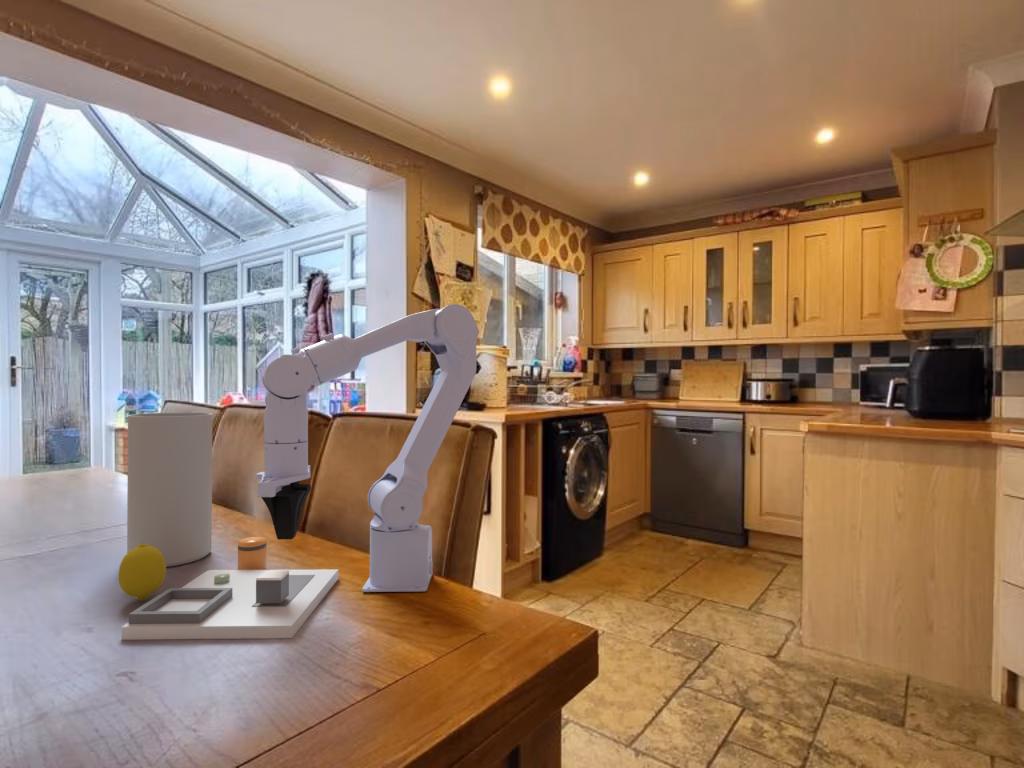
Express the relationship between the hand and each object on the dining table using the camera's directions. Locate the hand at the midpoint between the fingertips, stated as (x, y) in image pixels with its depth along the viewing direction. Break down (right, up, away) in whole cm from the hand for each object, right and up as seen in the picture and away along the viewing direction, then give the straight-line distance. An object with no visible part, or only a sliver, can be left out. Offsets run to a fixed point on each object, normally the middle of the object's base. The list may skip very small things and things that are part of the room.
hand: (286, 538), depth 78 cm
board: (-5, -9, -2) cm, 10 cm away
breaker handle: (0, -7, -5) cm, 8 cm away
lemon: (-20, -9, 0) cm, 22 cm away
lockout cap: (-11, -9, +12) cm, 18 cm away
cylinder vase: (-28, -9, +18) cm, 35 cm away
